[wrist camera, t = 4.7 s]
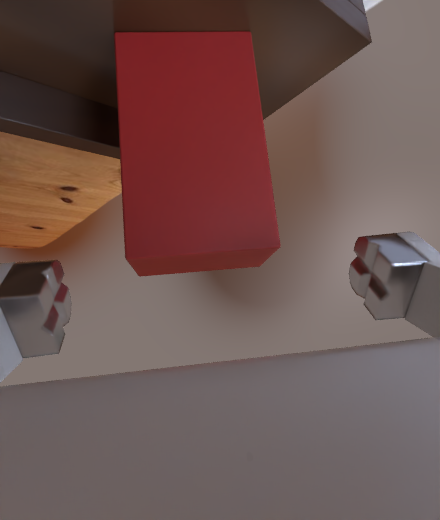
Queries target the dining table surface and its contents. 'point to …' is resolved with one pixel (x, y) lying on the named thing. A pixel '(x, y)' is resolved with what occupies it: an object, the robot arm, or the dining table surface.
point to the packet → (192, 153)
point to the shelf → (152, 20)
